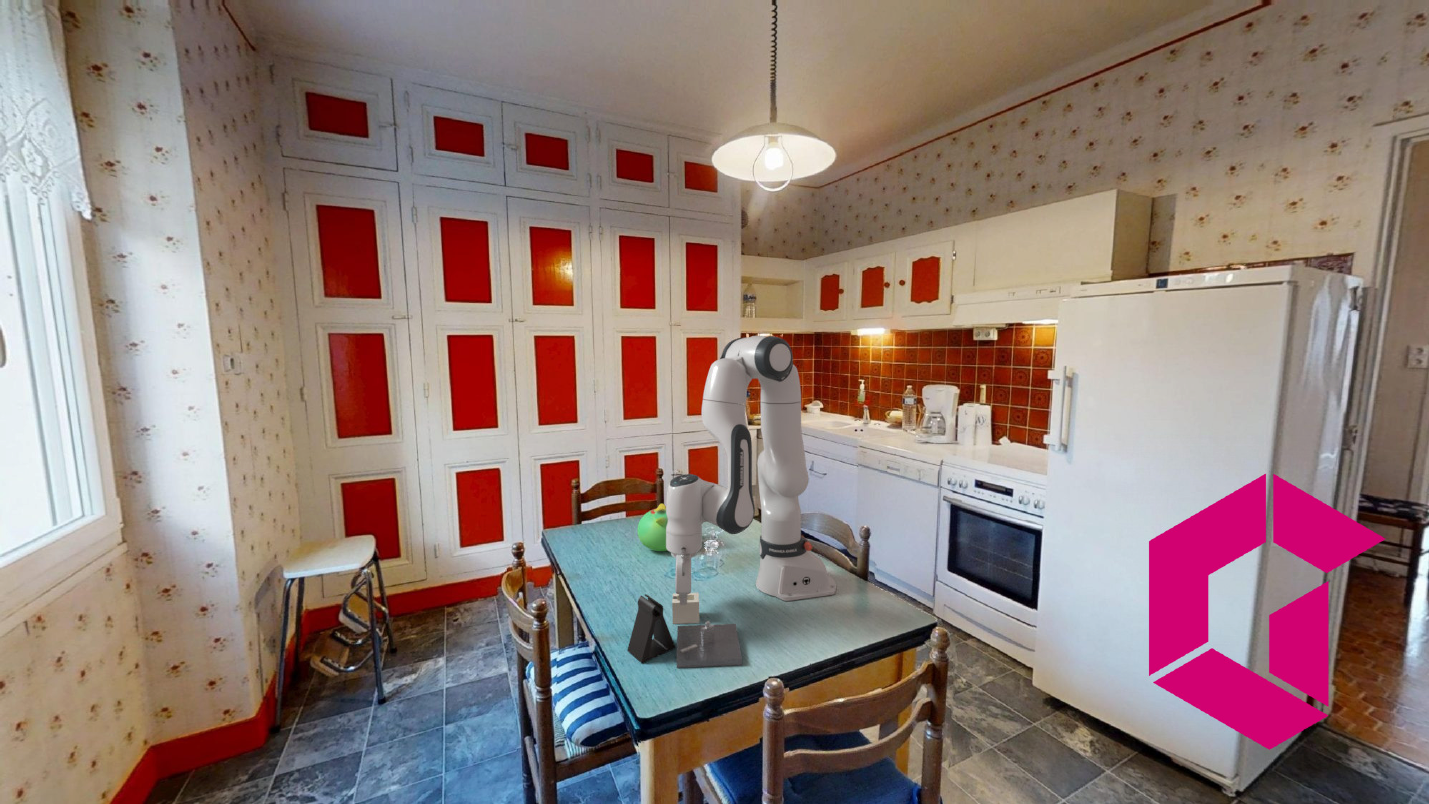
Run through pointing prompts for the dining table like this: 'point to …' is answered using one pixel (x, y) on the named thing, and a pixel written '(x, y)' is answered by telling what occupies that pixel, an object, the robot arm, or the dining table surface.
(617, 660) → the dining table surface
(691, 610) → the hollow rectangular block
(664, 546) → the green bird toy
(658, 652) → the black a-frame stand
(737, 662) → the grey square base
